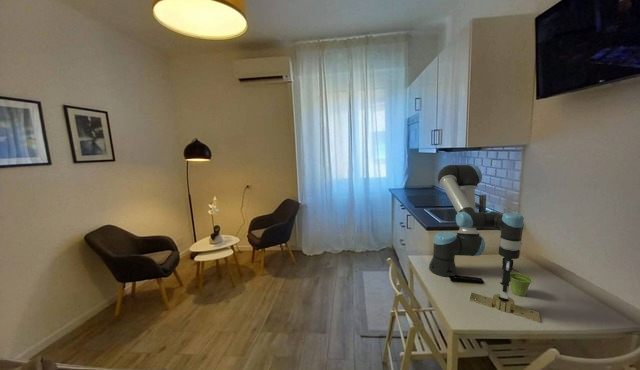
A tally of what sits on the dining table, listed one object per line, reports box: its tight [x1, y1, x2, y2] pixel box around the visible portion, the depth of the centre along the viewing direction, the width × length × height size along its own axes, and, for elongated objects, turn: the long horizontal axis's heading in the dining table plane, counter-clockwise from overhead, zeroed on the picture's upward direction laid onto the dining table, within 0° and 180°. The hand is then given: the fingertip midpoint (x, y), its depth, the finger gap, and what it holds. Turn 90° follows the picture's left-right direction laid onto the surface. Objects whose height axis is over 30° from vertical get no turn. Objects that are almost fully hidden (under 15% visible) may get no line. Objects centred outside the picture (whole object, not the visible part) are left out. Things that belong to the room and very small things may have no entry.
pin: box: [500, 273, 511, 302], centre depth 116 cm, size 4×4×14 cm
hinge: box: [469, 292, 541, 323], centre depth 117 cm, size 26×8×4 cm, turn 53°
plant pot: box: [509, 272, 533, 297], centre depth 128 cm, size 9×9×9 cm
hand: (503, 295), depth 116 cm, fingers closed on pin, 2 cm apart
